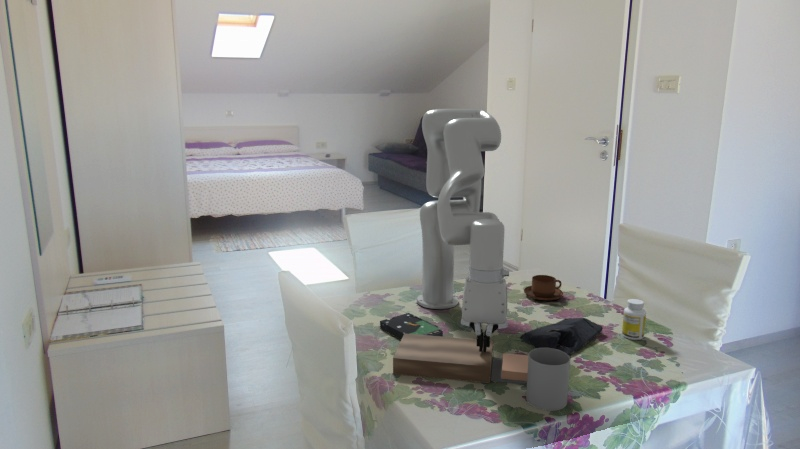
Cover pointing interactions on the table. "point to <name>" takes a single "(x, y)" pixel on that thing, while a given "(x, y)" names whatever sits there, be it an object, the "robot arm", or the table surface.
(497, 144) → the robot arm
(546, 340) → the dark slate chunk
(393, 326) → the disk drive
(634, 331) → the supplement bottle
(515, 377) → the tile
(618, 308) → the table surface
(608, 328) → the table surface
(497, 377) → the mat
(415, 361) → the board
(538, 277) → the cup and saucer
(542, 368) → the cup
